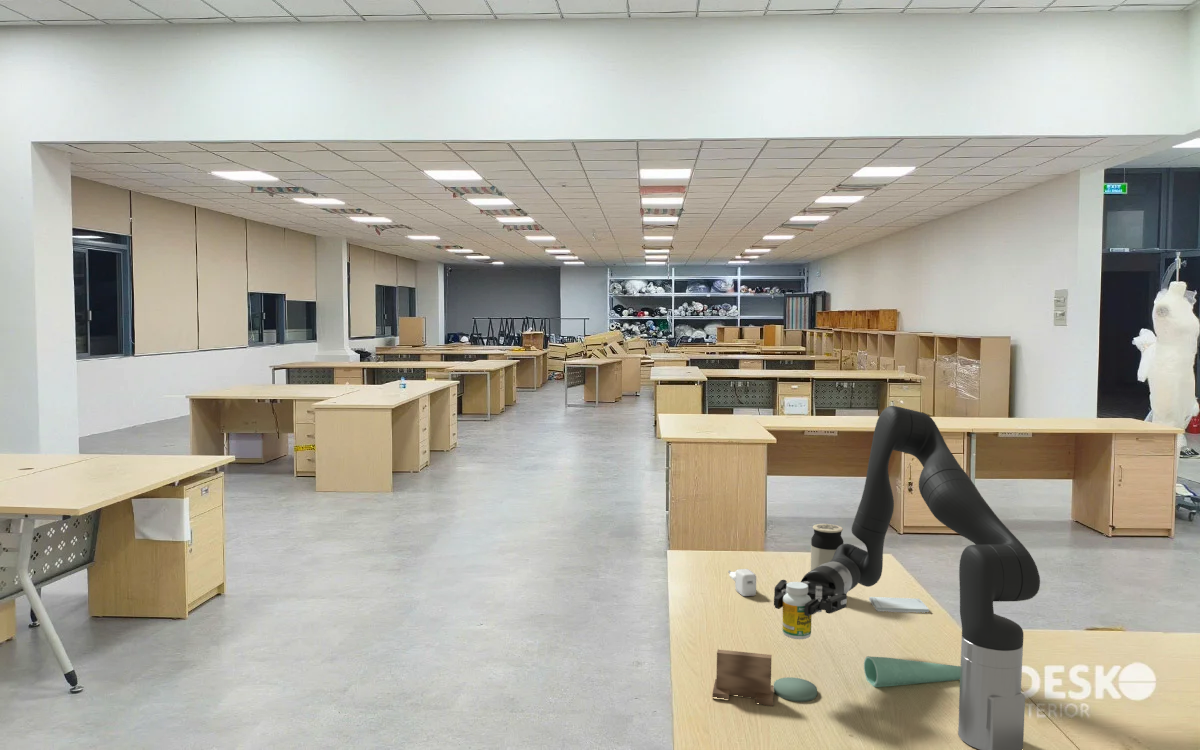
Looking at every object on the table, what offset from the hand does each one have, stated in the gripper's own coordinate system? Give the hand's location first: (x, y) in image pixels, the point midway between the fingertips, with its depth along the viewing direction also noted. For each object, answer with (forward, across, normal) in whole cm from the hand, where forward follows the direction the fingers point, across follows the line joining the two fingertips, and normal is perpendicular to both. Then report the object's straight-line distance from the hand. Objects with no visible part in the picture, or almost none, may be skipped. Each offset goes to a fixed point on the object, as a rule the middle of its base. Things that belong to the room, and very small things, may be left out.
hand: (791, 607), depth 148 cm
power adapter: (-48, -36, +18) cm, 63 cm away
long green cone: (-25, +19, +18) cm, 36 cm away
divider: (+5, -7, +17) cm, 19 cm away
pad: (-2, 0, +17) cm, 17 cm away
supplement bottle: (-3, 0, +6) cm, 7 cm away
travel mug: (-59, -17, +18) cm, 64 cm away
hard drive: (-63, 0, +19) cm, 65 cm away
